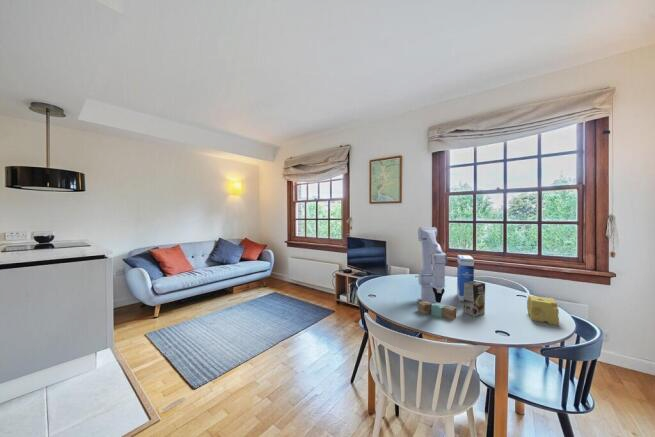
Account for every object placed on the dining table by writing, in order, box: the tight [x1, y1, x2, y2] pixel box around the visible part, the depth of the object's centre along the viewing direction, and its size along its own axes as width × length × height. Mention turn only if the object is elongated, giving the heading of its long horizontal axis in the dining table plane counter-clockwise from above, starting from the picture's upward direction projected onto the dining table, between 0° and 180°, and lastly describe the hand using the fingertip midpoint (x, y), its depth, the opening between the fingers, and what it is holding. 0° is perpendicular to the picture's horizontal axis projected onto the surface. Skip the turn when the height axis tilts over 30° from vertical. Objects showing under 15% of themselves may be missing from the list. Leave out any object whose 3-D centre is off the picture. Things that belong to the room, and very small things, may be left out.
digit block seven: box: [441, 304, 457, 321], centre depth 125 cm, size 5×5×5 cm
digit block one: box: [417, 300, 433, 315], centre depth 131 cm, size 5×5×5 cm
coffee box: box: [462, 280, 486, 317], centre depth 129 cm, size 9×6×16 cm
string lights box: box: [456, 254, 475, 302], centre depth 151 cm, size 13×8×26 cm, turn 158°
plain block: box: [430, 302, 446, 318], centre depth 127 cm, size 5×5×5 cm
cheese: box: [526, 294, 560, 326], centre depth 123 cm, size 10×11×10 cm
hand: (438, 302), depth 127 cm, fingers closed
